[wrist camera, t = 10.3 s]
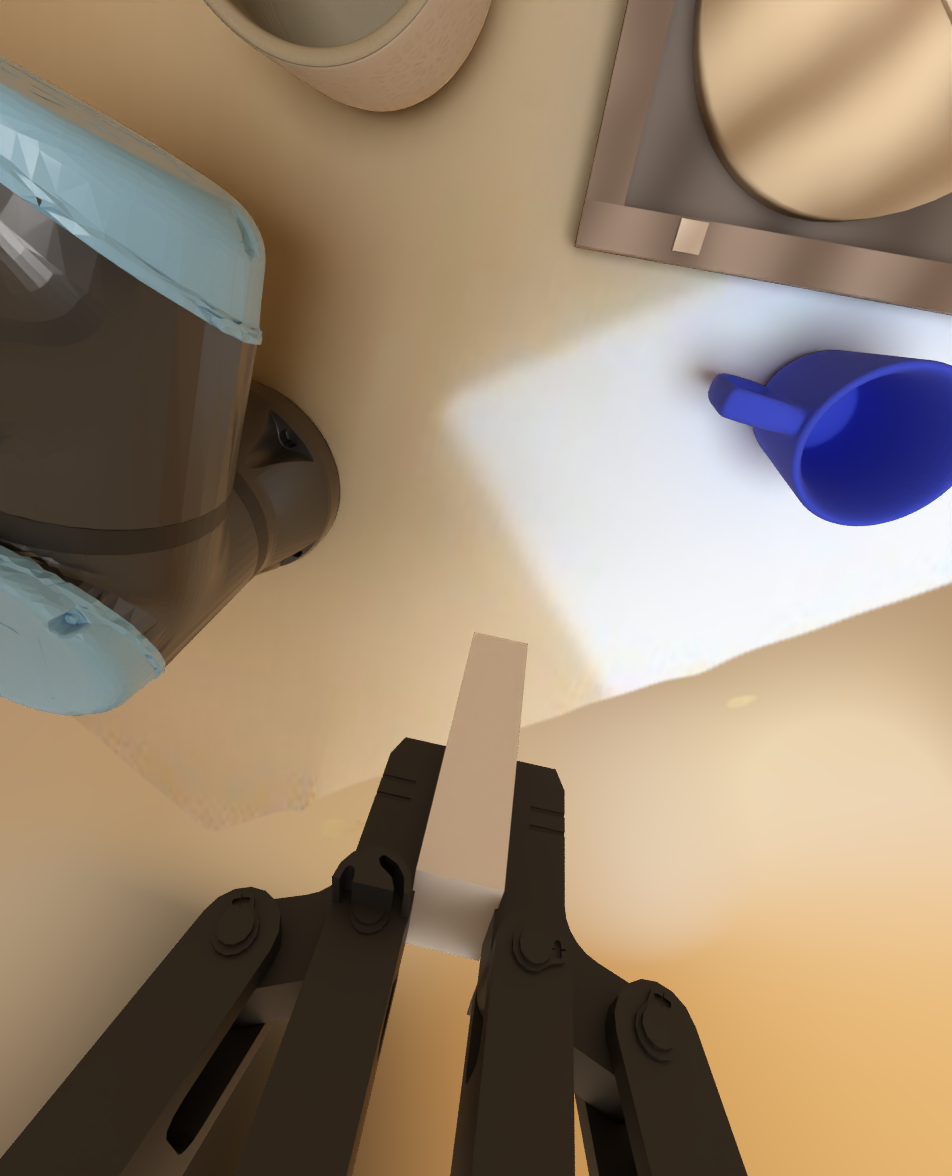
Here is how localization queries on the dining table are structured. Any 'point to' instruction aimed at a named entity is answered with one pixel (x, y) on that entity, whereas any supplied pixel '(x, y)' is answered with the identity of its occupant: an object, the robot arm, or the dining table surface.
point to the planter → (362, 44)
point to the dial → (828, 102)
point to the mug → (851, 431)
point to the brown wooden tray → (732, 191)
